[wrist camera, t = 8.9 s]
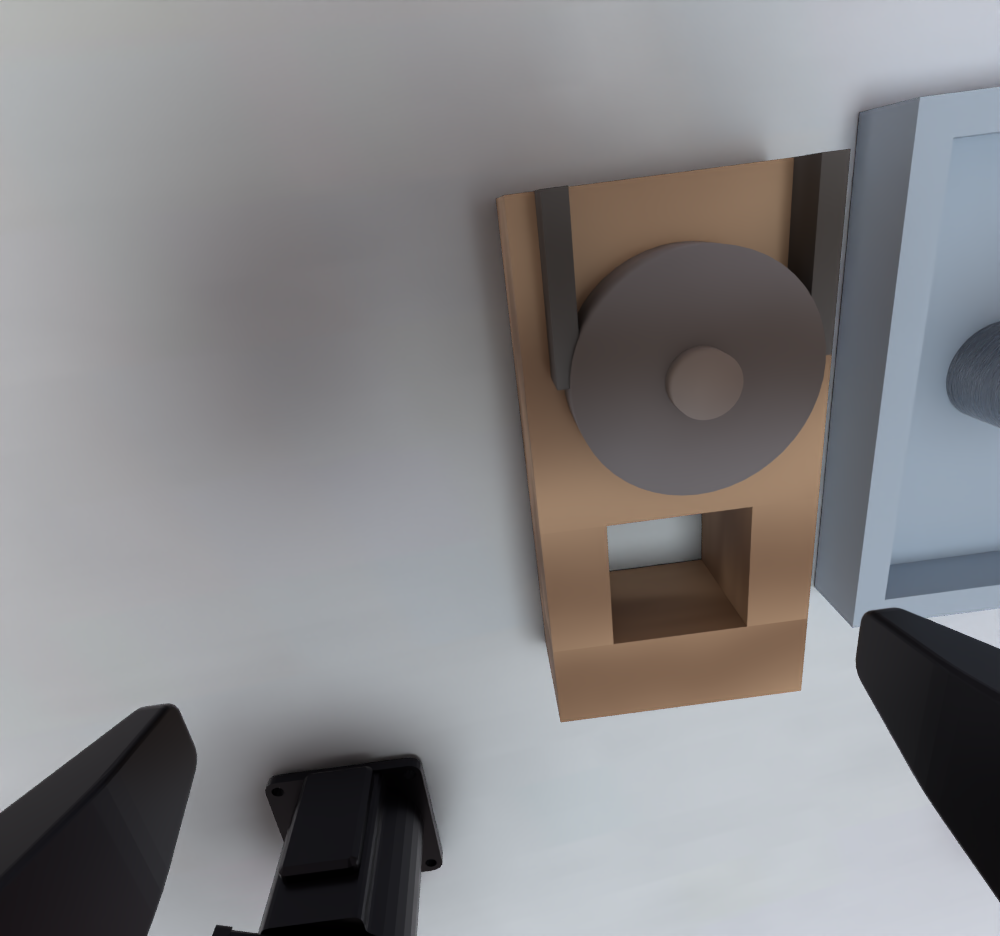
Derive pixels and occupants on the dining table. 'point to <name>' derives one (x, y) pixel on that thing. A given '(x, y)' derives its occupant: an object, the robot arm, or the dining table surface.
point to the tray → (915, 366)
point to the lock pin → (977, 376)
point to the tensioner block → (676, 420)
